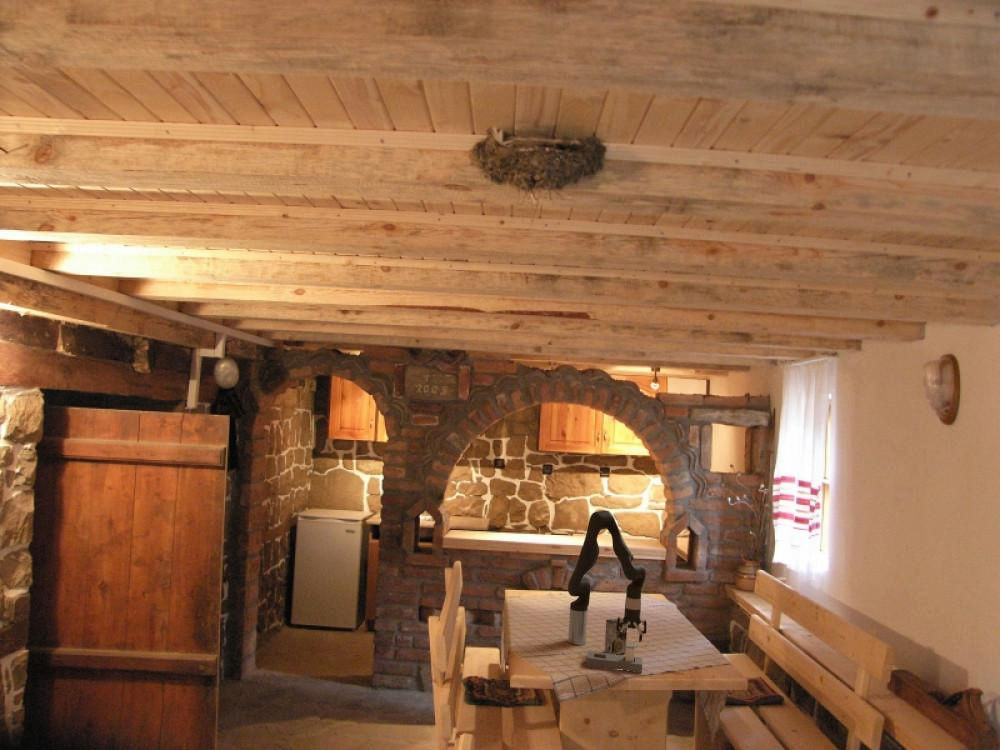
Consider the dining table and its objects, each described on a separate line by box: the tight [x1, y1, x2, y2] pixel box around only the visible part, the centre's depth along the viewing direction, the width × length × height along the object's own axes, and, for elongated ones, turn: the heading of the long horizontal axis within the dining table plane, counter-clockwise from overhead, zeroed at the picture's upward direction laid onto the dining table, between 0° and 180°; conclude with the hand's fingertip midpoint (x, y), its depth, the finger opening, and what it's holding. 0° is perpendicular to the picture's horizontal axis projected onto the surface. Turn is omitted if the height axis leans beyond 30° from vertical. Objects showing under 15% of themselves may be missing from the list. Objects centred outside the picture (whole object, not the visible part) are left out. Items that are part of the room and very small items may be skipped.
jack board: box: [585, 650, 643, 674], centre depth 364 cm, size 10×26×4 cm, turn 80°
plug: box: [624, 643, 635, 662], centre depth 363 cm, size 4×4×11 cm
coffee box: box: [604, 618, 628, 655], centre depth 385 cm, size 9×6×16 cm
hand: (630, 640), depth 364 cm, fingers open, 8 cm apart
